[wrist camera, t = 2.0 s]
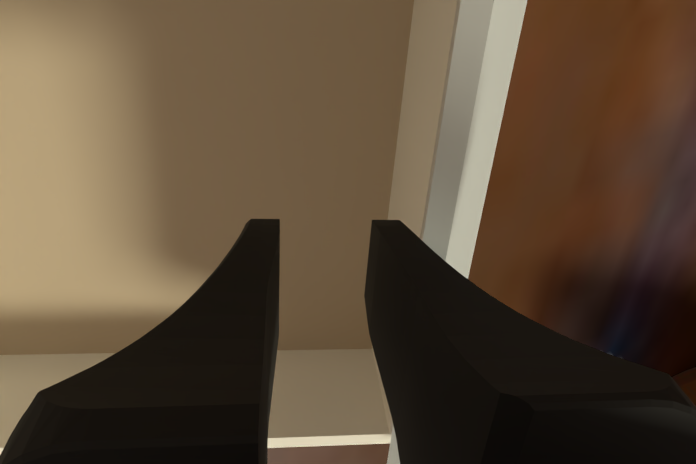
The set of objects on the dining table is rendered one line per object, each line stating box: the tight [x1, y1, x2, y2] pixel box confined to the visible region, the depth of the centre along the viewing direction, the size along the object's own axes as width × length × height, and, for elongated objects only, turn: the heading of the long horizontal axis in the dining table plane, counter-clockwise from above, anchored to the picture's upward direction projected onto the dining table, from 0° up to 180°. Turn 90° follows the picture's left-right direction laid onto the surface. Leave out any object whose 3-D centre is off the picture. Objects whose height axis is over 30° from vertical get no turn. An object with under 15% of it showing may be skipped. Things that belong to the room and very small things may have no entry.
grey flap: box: [387, 0, 527, 464], centre depth 14 cm, size 20×5×1 cm
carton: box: [0, 0, 461, 455], centre depth 17 cm, size 20×18×5 cm
